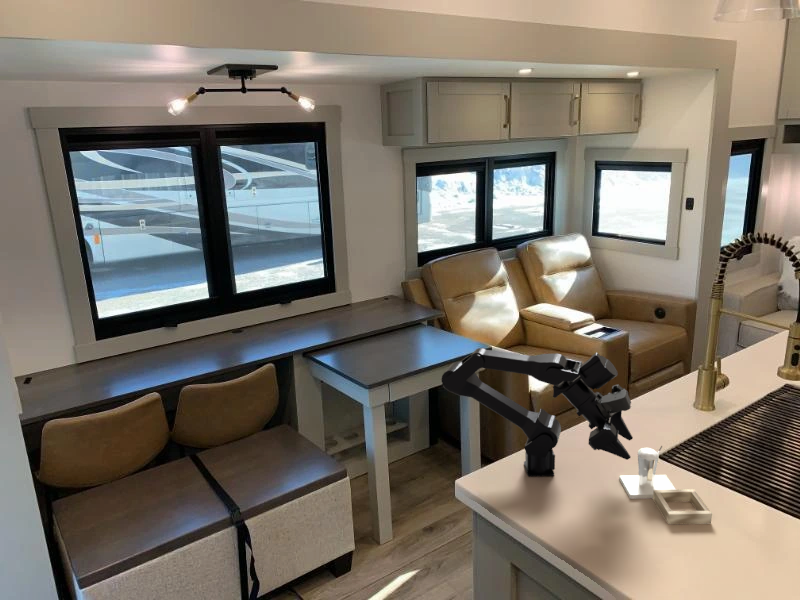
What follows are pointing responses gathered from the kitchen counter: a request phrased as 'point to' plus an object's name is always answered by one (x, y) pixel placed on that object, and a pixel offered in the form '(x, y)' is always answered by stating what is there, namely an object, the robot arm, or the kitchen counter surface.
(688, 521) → the holder
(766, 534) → the kitchen counter surface
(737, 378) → the kitchen counter surface
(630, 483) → the pad
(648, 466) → the milkshake
